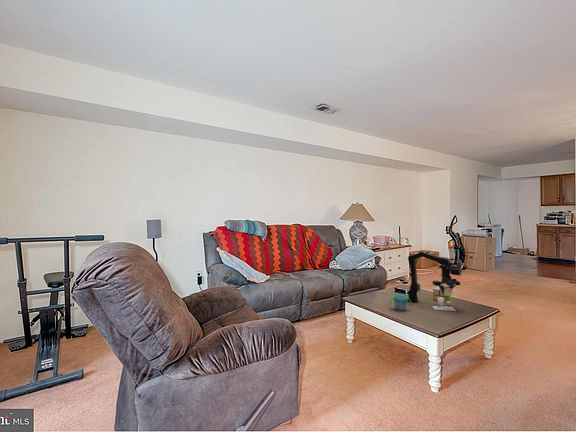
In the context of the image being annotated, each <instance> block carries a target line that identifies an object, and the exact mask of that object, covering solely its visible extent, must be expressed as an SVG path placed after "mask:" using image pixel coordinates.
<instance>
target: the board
mask: <svg viewBox="0 0 576 432" xmlns="http://www.w3.org/2000/svg"><path fill="white" fill-rule="evenodd" d="M431 308H432V309H433V310H434V311H450V312H456V310H457V309H455V308H454V307H453V306H444V305H443V306H439V305H431Z"/></svg>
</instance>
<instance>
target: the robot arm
mask: <svg viewBox="0 0 576 432" xmlns="http://www.w3.org/2000/svg"><path fill="white" fill-rule="evenodd" d="M420 258H425V259H428V260H430V261H434V262H436V263H437V264H439V266H438V269H441V274H440V276H441V281H440V280H433V281H432V284H433V285H434V286H436V287H439V288H440V289H441V292H442V294H444V290H443V287H445V286H444V285H447V287H450V288H451V293H452V292H453V289H454V288H455V287H456V286H461V282H460V281H458V280H457V279H456V278H452V276H459V277H460V276H462V272H463V271H462V268H461V266H454V264H453V263H452V262H451V259H450V258H448V257H444V256H437V255H435V254H434V255H433V254H432V253H427V252H425V251H419V252H417V253H415V254H411V255H408V257H407V261H408V264H409V266H410V280H411V281H410V284H409V285H410V286H409V290H408V291H406V293H407V297H408V298H409V299H410V300H411V303H418V292H420V290H421V284H420V283H419V282H418V272H417V264H418V259H420ZM409 299H408V300H407V302H408V303H410V300H409Z"/></svg>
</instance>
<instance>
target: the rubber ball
mask: <svg viewBox="0 0 576 432" xmlns="http://www.w3.org/2000/svg"><path fill="white" fill-rule="evenodd" d="M445 305H447V306H452V302H451V301H450V300H449V301H447V302H446V303H445Z"/></svg>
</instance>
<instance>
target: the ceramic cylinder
mask: <svg viewBox="0 0 576 432" xmlns="http://www.w3.org/2000/svg"><path fill="white" fill-rule="evenodd" d="M437 306H443V307H444V302H443V297H438V301H437Z"/></svg>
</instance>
